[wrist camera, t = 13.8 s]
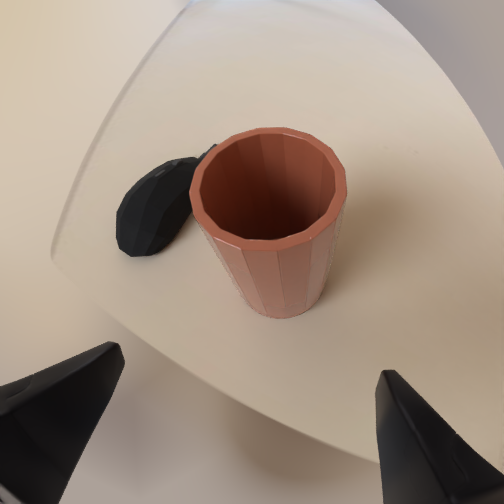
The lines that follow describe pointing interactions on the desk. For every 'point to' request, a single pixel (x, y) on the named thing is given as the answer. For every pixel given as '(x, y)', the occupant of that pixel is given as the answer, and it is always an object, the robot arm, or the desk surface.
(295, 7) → the desk surface
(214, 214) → the pen cup
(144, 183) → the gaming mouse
